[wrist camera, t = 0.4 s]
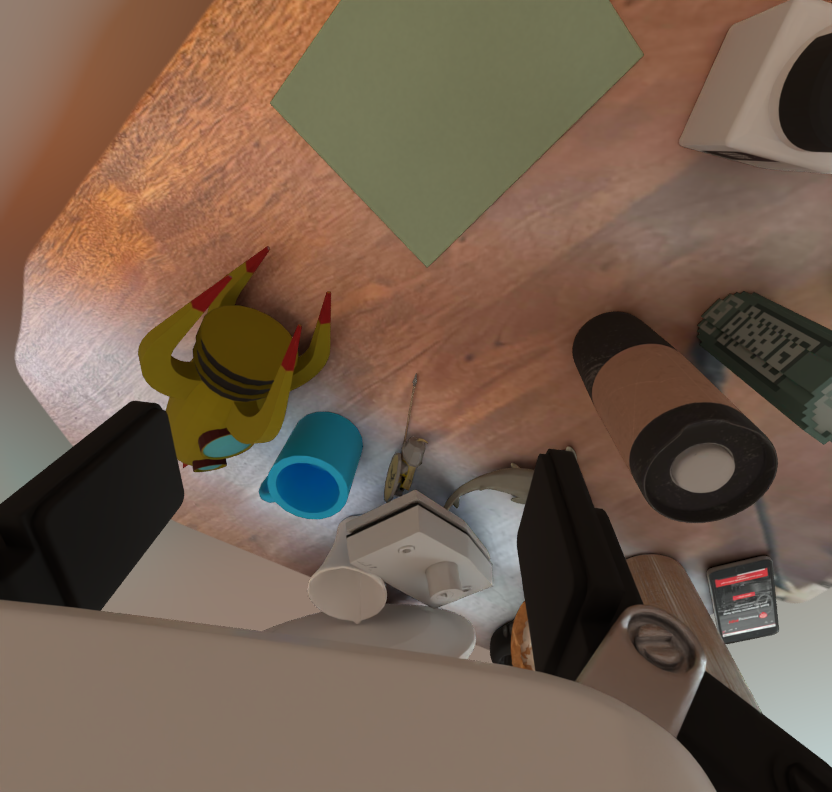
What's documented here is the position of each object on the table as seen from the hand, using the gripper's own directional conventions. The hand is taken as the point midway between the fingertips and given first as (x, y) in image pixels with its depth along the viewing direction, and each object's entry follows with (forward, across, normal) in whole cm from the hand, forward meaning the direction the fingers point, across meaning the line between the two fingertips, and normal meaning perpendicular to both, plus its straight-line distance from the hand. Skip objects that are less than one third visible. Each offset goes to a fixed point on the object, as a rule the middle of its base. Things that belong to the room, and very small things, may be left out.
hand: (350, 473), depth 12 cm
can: (+34, -29, +5) cm, 45 cm away
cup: (+34, +5, +37) cm, 50 cm away
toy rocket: (+25, +10, +3) cm, 27 cm away
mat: (+34, 0, -12) cm, 36 cm away
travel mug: (+34, -19, +8) cm, 39 cm away
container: (+34, -23, -12) cm, 43 cm away
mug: (+34, +11, +25) cm, 43 cm away
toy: (+31, +1, +28) cm, 42 cm away
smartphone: (+33, -41, +34) cm, 63 cm away
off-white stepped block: (+27, 0, +37) cm, 46 cm away
